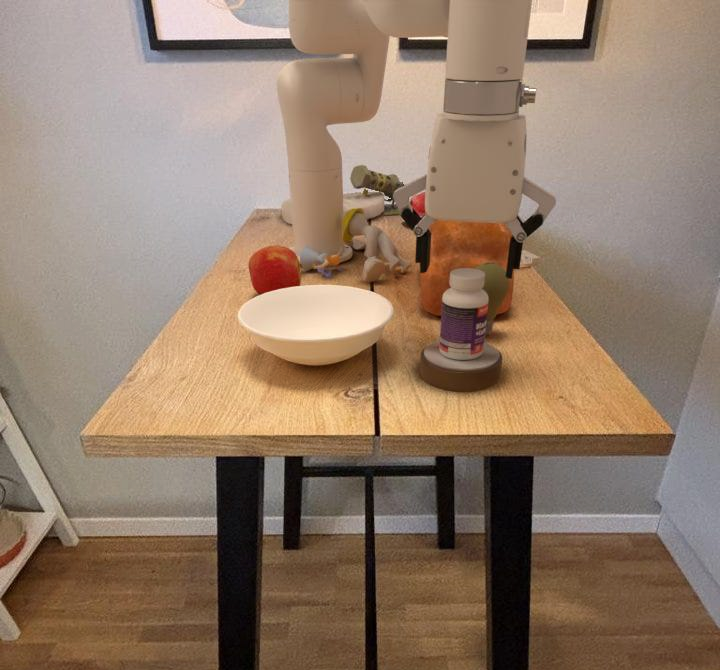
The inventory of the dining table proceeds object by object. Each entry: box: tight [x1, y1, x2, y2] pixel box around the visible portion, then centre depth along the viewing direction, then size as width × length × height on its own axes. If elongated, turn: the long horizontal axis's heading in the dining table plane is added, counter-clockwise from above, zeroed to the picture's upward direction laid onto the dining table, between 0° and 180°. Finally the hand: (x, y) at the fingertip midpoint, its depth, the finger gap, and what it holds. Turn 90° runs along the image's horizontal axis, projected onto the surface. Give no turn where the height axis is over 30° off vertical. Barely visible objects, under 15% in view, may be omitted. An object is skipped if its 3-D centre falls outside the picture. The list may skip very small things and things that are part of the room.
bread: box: [419, 220, 515, 317], centre depth 102 cm, size 14×26×16 cm, turn 176°
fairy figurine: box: [298, 246, 343, 279], centre depth 116 cm, size 12×5×12 cm
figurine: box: [342, 208, 412, 283], centre depth 115 cm, size 10×9×15 cm
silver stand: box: [419, 339, 504, 392], centre depth 81 cm, size 10×10×3 cm
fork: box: [351, 237, 367, 251], centre depth 131 cm, size 3×21×3 cm, turn 24°
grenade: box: [349, 164, 404, 209], centre depth 153 cm, size 7×7×15 cm
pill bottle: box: [439, 268, 489, 360], centre depth 78 cm, size 5×5×10 cm
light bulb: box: [475, 262, 509, 337], centre depth 89 cm, size 6×6×10 cm
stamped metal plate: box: [519, 249, 541, 269], centre depth 120 cm, size 8×7×2 cm
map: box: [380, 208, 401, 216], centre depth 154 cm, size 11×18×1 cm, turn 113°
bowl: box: [237, 284, 395, 366], centre depth 85 cm, size 20×20×6 cm
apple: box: [247, 245, 302, 295], centre depth 103 cm, size 8×8×8 cm
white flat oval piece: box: [280, 192, 385, 225], centre depth 152 cm, size 22×28×3 cm
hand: (466, 272), depth 75 cm, fingers open, 9 cm apart
